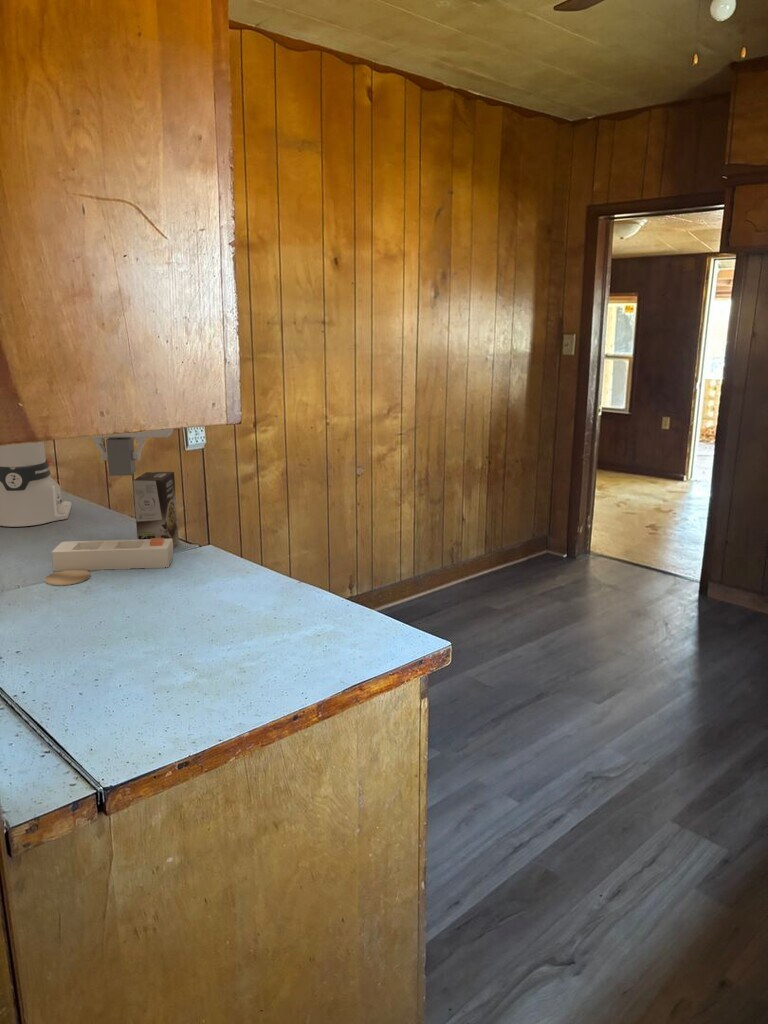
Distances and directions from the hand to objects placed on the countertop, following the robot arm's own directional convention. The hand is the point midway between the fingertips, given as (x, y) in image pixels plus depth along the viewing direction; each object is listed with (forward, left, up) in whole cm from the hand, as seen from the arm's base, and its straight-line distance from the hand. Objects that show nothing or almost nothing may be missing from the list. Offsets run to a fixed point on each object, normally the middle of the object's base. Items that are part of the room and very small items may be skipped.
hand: (121, 460), depth 147 cm
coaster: (+8, -10, -21) cm, 25 cm away
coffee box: (-10, +4, -22) cm, 24 cm away
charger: (0, 0, -3) cm, 3 cm away
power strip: (0, -3, -21) cm, 21 cm away
